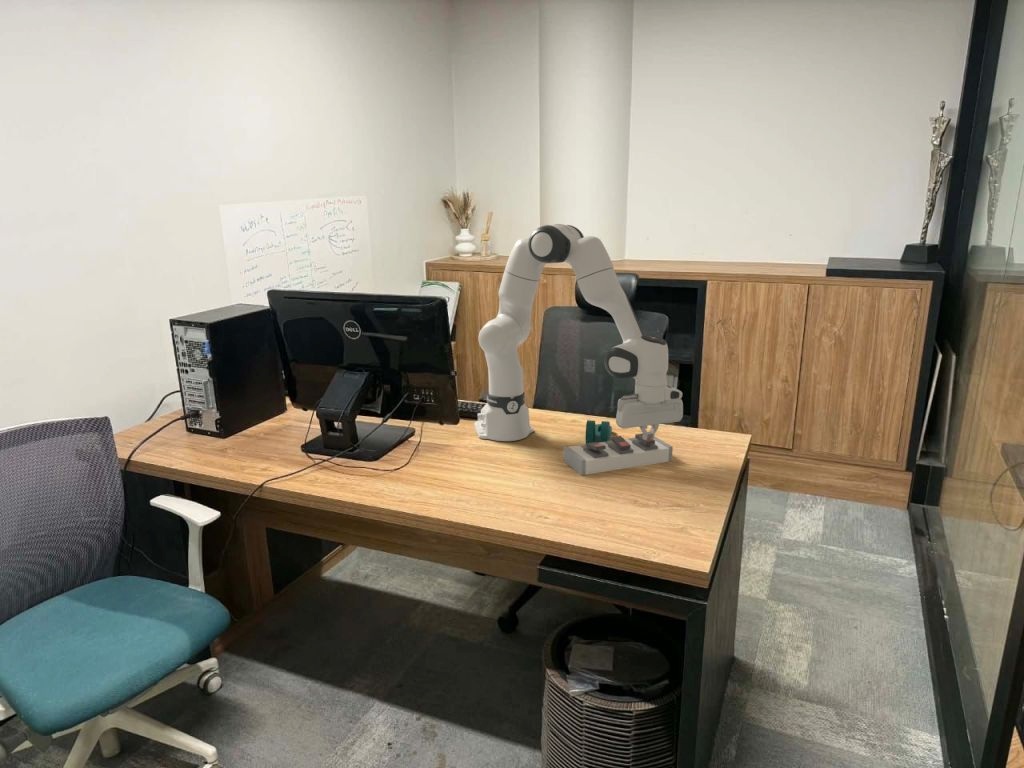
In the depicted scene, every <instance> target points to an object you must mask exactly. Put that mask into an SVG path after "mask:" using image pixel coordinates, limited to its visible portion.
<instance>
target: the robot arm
mask: <svg viewBox="0 0 1024 768" xmlns="http://www.w3.org/2000/svg"><path fill="white" fill-rule="evenodd" d="M507 258H508V259H507V262H506V265H505V268H504V272H503V274H502V275H503V276H502V279H501V282H500V284H499V285H500V286H499V289H498V294H497V296H498V298H499V301H498V303H499V305H498V306H499V307H498V313H497V315H496V317H495V318H493V319H490V320H489V321H487V322H486V323H485V324H484V325H483V326H482V328H480V331H479V334H478V337H477V338H478V339H477V340H478V344H479V347H480V348H481V350H482V351H483V353H484V357H485V360H486V365H487V372H488V391H487V395H486V403H485V404H484V406H483V407H482V408H481V409H480V412H479V413H477V420H476V421H474V425H473V426H474V428H475V431H476V434H477V436H478V439H482V440H483V439H485V440H491V441H497V442H513V441H515V442H516V441H519V440H524V439H526V438H527V437H529V435H530V434H532V433H533V432H534V431H535V430H534V427H532V426H530V425H531V421H530V410H529V407H528V406H527V405H525V404H526V395H525V391H524V368H523V366H522V365H521V362H520V358H519V353H518V349H519V348H518V347H519V346H521V345H523V344H524V343H525V342H526V341H527V339H528V337H529V335H530V333H531V330H532V328H531V319H532V310H533V306H534V305H533V304H534V300H535V297H536V293H537V290H538V286H539V283H540V280H541V277H542V274H543V270H544V267H545V266H546V265H547V264H560V263H564V262H565V263H567V264H569V266H571V268H572V270H573V273H574V277H575V278H576V283H577V284H578V287H579V291H580V293H581V294H582V296H583V298H584V300H585V301H586V302H587V303H588V304H590V305H592V306H595V307H598V308H600V309H602V310H604V311H606V312H607V313H608V314H609V315H611V317H612V318H613V321H614V323H615V326H616V328H617V330H618V332H619V334H620V337H621V339H622V343H621V344H618V345H615V346H613V347H610V348H609V349H608V350H607V351H606V353H605V355H604V359H603V360H604V361H603V362H604V367H605V370H606V371H607V373H608V374H609V375H610V376H612V377H613V378H615V379H634V380H635V383H634V394H629V395H628V394H627V395H626V394H625V395H623V396H622V397H620V398H619V399H618V400H617V410H616V417H615V424H616V425H617V426H618V428H621V429H631V428H632V429H633V428H637V427H638V428H639V430H640V431H641V434H642V433H643V439H644V440H648V439H654V436H655V437H656V435H655V434H656V432H657V431H658V429H659V426H660V425H662V424H671V423H678V422H681V421H682V419H683V417H684V416H683V415H684V403H683V400H682V397H683V392H682V391H681V390H680V389H678V388H675V387H673V386H669V385H668V380H667V373H668V370H669V348H668V343H667V341H666V340H665V339H664V338H662V337H661V336H658V335H654V334H644V331H643V330H642V327H641V325H640V323H639V321H638V318H637V316H636V312H635V311H634V309H633V307H632V305H631V301H630V300H629V298H628V296H627V294H626V293H625V291H624V289H623V288H622V286H621V284H620V281H619V278H618V277H617V276H618V275H617V273H616V271H615V268H614V266H613V262H612V260H611V257H610V255H609V253H608V250H607V249H606V247H605V245H604V244H603V241H602V240H601V238H599V237H597V236H592V235H589V236H585V235H584V234H583V232H582V231H581V230H580V229H578V227H576V226H574V225H571V224H570V225H569V224H561V223H555V224H552V225H551V224H550V225H549V224H545V225H542V226H539V227H537V228H536V229H534V231H532V233H530V236H529V237H523V238H522V237H521V238H519V239H518V240H516V242H514V245H513V247H512V249H511V252H510V254H509V257H507ZM648 426H651V427H650V430H649V431H647V430H648Z"/></svg>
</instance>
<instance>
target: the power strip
mask: <svg viewBox="0 0 1024 768" xmlns="http://www.w3.org/2000/svg"><path fill="white" fill-rule="evenodd" d="M624 439H625V440H626V441H627V442H628V443H629V444H630V445H631V447H630V449H623V450H621V449H620V448H619V447H618V446H617V445H616V444H615V443H614V442H612V441H611V440H610V441H608V442H601V443H599V444H602V445H605V446H606V449H603V450H597V451H596V450H593V449H591V448H588V447H586V445H585V444H580V445H574V446H568V445H565V446H563V462H564V463H565V464H567V466H569V467H571V468H572V469H573V470H574V471H576V472H577V473H578V474H579V475H580V476H586V475H592V474H598V473H605V472H606V473H607V472H610V471H618V470H624V469H629V468H637V467H643V466H649V465H655V464H662V463H669V462H673V450H674V447H673V445H671V444H669V443H667V442H665V441H664V440H662V439H661V438H658V437H656V435H655V436H654V439H653V440H655V444H651V445H645V444H643V443H642V442H641V441H639V440H638V439H636V438H635V437H629V438H624Z"/></svg>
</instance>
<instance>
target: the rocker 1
mask: <svg viewBox="0 0 1024 768" xmlns="http://www.w3.org/2000/svg"><path fill="white" fill-rule="evenodd" d="M586 447H588V448H591V449H593V450H596V451H597V450H603V449H606V446H605V445H602V444H599V443H597V442H593V443H586Z"/></svg>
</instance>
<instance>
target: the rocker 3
mask: <svg viewBox="0 0 1024 768" xmlns="http://www.w3.org/2000/svg"><path fill="white" fill-rule="evenodd" d="M634 438H636V439H638V440H639V441H641V442H642V443H643V444H645V445H651V444H655V440H653V439H648V440H644V439H643V433H642V432H641V433H636V434H635V435H634Z"/></svg>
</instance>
